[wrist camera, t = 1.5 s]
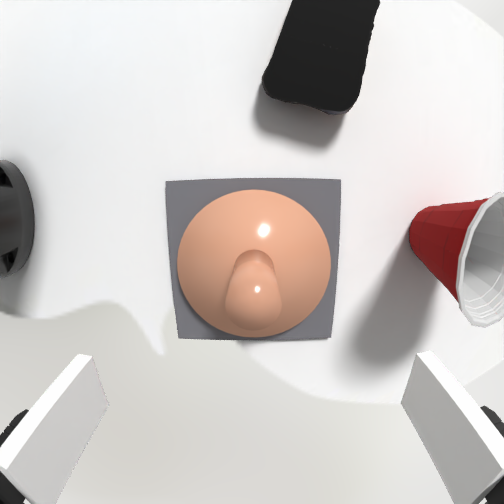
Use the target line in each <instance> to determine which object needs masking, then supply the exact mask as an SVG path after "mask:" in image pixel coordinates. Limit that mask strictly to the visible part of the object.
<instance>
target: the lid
mask: <svg viewBox="0 0 504 504" xmlns="http://www.w3.org/2000/svg"><path fill="white" fill-rule="evenodd" d="M330 270H331V257H330V250H329V246H328V242H327V239H326V237H325V235H324V232H323V230H322V228H321V227H320V225H319V224H318V222H317V221H316V220H315V218H314V217H313V216H312V215H311V214H310V213H309V212H308V211H307V210H306V209H305V208H304V207H303V206H301V205H300V204H298V203H297V202H295V201H294V200H292V199H290V198H288V197H286V196H284V195H281V194H278V193H275V192H272V191H267V190H256V189H251V190H241V191H237V192H232V193H229V194H227V195H224V196H222V197H220V198H218V199H216V200H214V201H212V202H211V203H209V204H208V205H207V206H205V207H204V208H203V209H202V210H201V211H200V212H199V213H198V214H196V216H195V217H194V218H193V219H192V221H191V222H190V223H189V225H188V227H187V228H186V230H185V232H184V234H183V237H182V239H181V242H180V246H179V249H178V257H177V271H178V277H179V281H180V285H181V288H182V290H183V293H184V295H185V297H186V299H187V300H188V302H189V304H190V305H191V306H192V308H193V309H194V310H195V311H196V313H197V314H199V315H200V316H201V317H202V318H203V319H204V320H205V321H207V322H208V323H209V324H211V325H212V326H214V327H216V328H217V329H219V330H222V331H224V332H226V333H230V334H233V335H237V336H242V337H266V336H271V335H275V334H279V333H282V332H284V331H286V330H289V329H291V328H292V327H294V326H296V325H297V324H299V323H300V322H302V321H303V320H304V319H305V318H307V317H308V316H309V315H310V314H311V313H312V312H313V310H314V309H315V308H316V306H317V305H318V304H319V302H320V301H321V299H322V297H323V295H324V293H325V291H326V288H327V285H328V281H329V278H330Z"/></svg>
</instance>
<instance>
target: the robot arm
mask: <svg viewBox="0 0 504 504" xmlns="http://www.w3.org/2000/svg"><path fill="white" fill-rule="evenodd" d="M33 235H34V213H33V205H32V199H31V195H30V191H29V188H28V185H27V183H26V181H25V179H24V177H23V175H22V173H21V172H20V170H19V169H18V168H17V167H16V166H15V165H14V164H12V163H11V162H9V161H6V160H0V278H3V277H6V276H8V275H11V274H13V273H15V272H16V271H18V270H19V269H20V268H21V267H22V266H23V265H24V264H25V262H26V260H27V258H28V256H29V253H30V250H31V247H32V242H33ZM401 404H402V406H403V408H404V409H405V411H406V413H407V415H408V416H409V418H410V420H411V422H412V423H413V425H414V427H415V429H416V431H417V433H418V434H419V436H420V438H421V440H422V442H423V443H424V445H425V447H426V449H427V451H428V453H429V455H430V457H431V459H432V461H433V462H434V464H435V466H436V468H437V470H438V472H439V474H440V476H441V478H442V480H443V482H444V484H445V486H446V488H447V490H448V492H449V494H450V496H451V498H452V500H453V502H454V504H479V503H480V502H481V501H482V500H483V498H486V500H487V502H486V503H485V504H504V423H503V422H501V419H500V418H499V417H498V416H497V414H496V413H495V412H494V411H492V410H491V409H489V408H487V407H486V406H483V407H479V406H478V405H477V404H476V402H475V401H474V400H473V399H472V397H471V396H470V395H469V394H468V393H467V391H466V390H465V389H464V388H463V387H462V385H461V384H460V383H459V382H458V381H457V380H456V378H455V377H454V376H453V375H452V374H451V373H450V372H449V370H448V369H447V368H446V367H445V366H444V365H443V364H442V362H441V361H440V360H439V359H438V358H437V357H436V356H435V355H434V353H433V352H432V351H427V352H421V353H416V357H415V360H414V364H413V367H412V370H411V374H410V377H409V380H408V383H407V386H406V389H405V392H404V395H403V398H402V401H401ZM108 406H109V402H108V400H107V397H106V395H105V392H104V389H103V386H102V383H101V381H100V378H99V375H98V372H97V369H96V366H95V362H94V359H93V356H88V355H82V354H78V355H77V356H76V357H75V358H74V359H73V360H72V361H71V363H70V364H69V365H68V366H67V367H66V368H65V369H64V370H63V372H62V373H61V374H60V375H59V376H58V377H57V378H56V380H55V381H54V382H53V383H52V384H51V385H50V387H49V388H48V389H47V390H46V391H45V392H44V394H43V395H42V396H41V397H40V398H39V400H38V401H37V402H36V403H35V404H34V406H33V407H32V408H31V409H30V410H24V411H23V412H21V413H20V414H18V415H17V416H16V417H15V418H14V419H13V420H12V421H11V423H10V424H9V425H10V426H7V427H6V429H5V430H4V433H3V432H2V434H1V435H0V504H24V503H23V502H24V500H25V498H26V499H27V500H28V501H29V502H30V503H31V504H56V502H57V500H58V498H59V496H60V494H61V492H62V490H63V488H64V486H65V484H66V483H67V480H68V479H69V477H70V475H71V473H72V471H73V469H74V467H75V466H76V463H77V462H78V460H79V458H80V456H81V454H82V453H83V451H84V449H85V447H86V445H87V444H88V442H89V440H90V438H91V436H92V435H93V433H94V431H95V429H96V428H97V426H98V424H99V422H100V421H101V419H102V417H103V415H104V413H105V412H106V410H107V408H108Z"/></svg>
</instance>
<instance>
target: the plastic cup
mask: <svg viewBox="0 0 504 504" xmlns="http://www.w3.org/2000/svg"><path fill="white" fill-rule="evenodd" d="M409 241H410V244H411V247H412V250H413V251H414V253H415V254H416V256H417V257H418V258H419V259H420V260H421V261H422V262H423V263H424V264H425V265H426V267H427V268H428V269H429V270H430V271H431V272H432V273H433V274H434V275H435V276H436V277H437V278H438V279H439V280H440V282H441V283H442V284H443V285H444V286H445V287H446V288H447V289H448V290H449V291H450V293H451V294H452V295H453V296H454V298H455V299H456V300H457V302H458V303H459V308H460V310H461V311H462V313H463V314H464V315H465V317H466V318H467V320H468V321H469V322H470V324H471V325H473V326H479V327H484V328H485V327H487V326H490V325H492V324H494V323H496V322H498V321H500V320H501V319H502V318H503V317H504V192H499V193H495V194H494V195H493V196H492V197H490V198H487V199H483V200H475V201H474V202H463V203H452V204H442V205H440V206H429V207H427V208H425V209H423V210H421V211H420V212H418V214H417V215H416V216H415V218H414V219H413V220H412V224H411V227H410V230H409Z"/></svg>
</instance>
